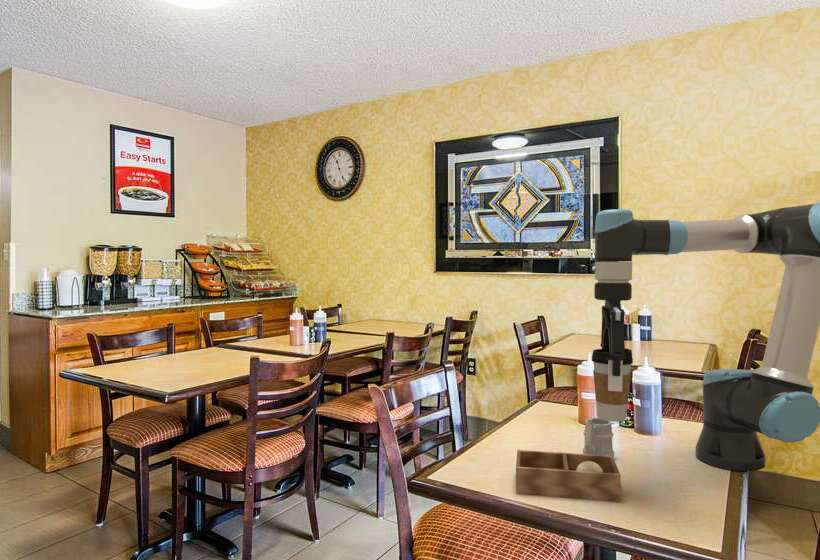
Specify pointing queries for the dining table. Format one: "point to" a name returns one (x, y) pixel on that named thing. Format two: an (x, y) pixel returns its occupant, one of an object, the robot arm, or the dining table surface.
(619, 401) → the coffee cup
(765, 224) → the robot arm
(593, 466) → the beige ball
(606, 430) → the mug
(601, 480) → the caddy
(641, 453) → the dining table surface
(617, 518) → the dining table surface
